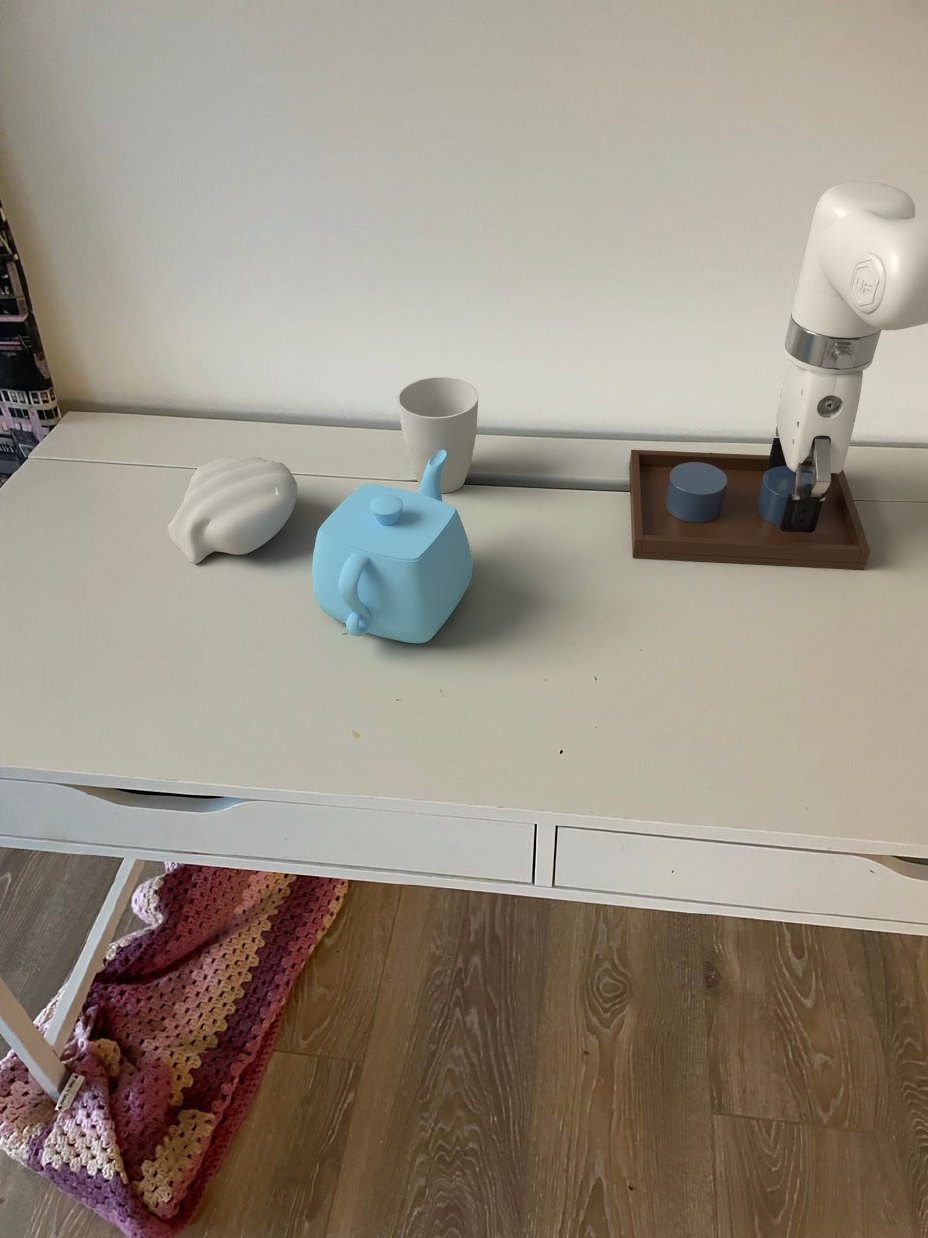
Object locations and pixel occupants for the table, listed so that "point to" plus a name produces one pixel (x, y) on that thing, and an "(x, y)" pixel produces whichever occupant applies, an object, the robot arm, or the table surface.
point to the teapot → (393, 560)
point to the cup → (439, 426)
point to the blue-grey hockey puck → (776, 492)
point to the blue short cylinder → (696, 492)
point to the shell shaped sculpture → (233, 507)
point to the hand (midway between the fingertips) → (789, 500)
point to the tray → (739, 518)
